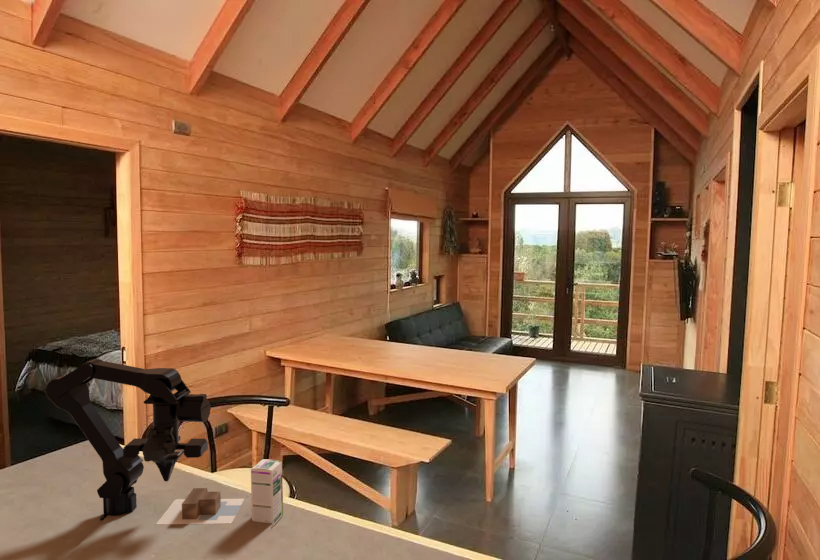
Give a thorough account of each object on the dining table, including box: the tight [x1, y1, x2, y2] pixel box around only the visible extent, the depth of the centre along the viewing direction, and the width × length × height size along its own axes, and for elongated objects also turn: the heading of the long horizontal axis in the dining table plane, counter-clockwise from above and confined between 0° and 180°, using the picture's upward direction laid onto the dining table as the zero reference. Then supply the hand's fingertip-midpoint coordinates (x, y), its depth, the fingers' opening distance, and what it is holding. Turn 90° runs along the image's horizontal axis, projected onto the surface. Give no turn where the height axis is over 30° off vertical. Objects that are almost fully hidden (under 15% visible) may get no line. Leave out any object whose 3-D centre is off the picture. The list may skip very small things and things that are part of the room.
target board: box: [155, 498, 245, 525], centre depth 132 cm, size 18×12×1 cm, turn 93°
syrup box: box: [250, 459, 284, 528], centre depth 130 cm, size 6×6×14 cm
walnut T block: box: [182, 487, 222, 520], centre depth 132 cm, size 8×8×4 cm
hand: (166, 480), depth 131 cm, fingers closed
